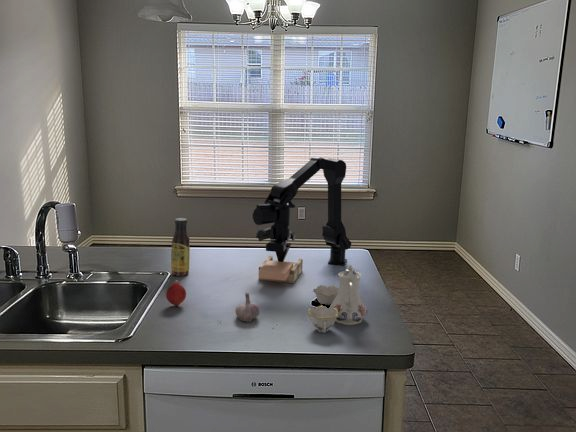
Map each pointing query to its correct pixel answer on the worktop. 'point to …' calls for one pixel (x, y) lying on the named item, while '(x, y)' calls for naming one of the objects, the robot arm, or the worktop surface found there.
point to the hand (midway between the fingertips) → (280, 264)
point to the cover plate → (276, 270)
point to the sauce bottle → (180, 249)
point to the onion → (176, 293)
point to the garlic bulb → (247, 310)
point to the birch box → (293, 275)
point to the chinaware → (339, 302)
